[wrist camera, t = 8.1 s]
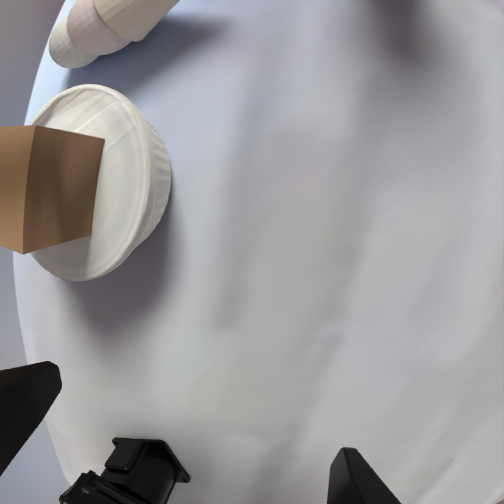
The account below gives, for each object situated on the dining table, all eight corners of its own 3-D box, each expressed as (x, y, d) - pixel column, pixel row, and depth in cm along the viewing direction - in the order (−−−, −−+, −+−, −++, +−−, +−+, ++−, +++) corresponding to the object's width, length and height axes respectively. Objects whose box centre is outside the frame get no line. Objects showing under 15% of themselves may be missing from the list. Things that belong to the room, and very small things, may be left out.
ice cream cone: (261, -13, 15) (95, 70, 20) (227, -77, 10) (63, 21, 15) (257, -13, 11) (56, 100, 16) (210, -95, 6) (16, 42, 11)
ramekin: (101, 82, 18) (57, 61, 13) (221, 149, 18) (194, 135, 13) (41, 208, 20) (-6, 216, 15) (137, 291, 20) (96, 320, 15)
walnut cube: (91, 235, 14) (22, 254, 9) (32, 219, 15) (-30, 231, 10) (105, 139, 13) (35, 125, 8) (43, 136, 14) (-21, 129, 9)
